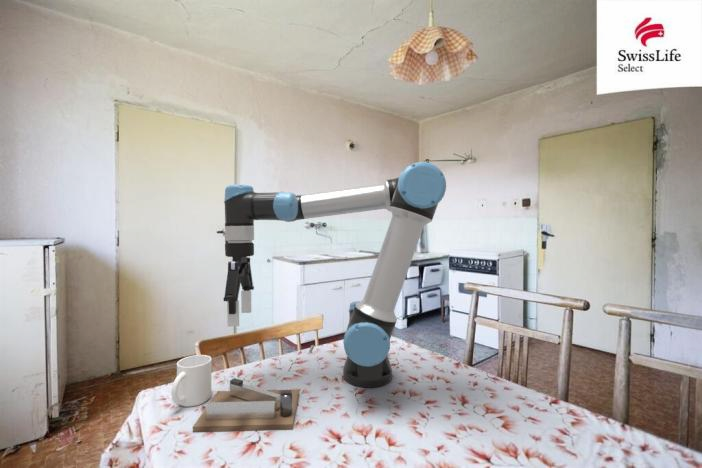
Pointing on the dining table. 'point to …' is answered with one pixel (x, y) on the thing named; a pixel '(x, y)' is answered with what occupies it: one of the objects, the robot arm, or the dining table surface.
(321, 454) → the dining table surface
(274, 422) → the board
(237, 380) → the light grey long bar
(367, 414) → the dining table surface
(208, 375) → the mug
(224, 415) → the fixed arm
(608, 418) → the dining table surface
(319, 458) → the dining table surface
